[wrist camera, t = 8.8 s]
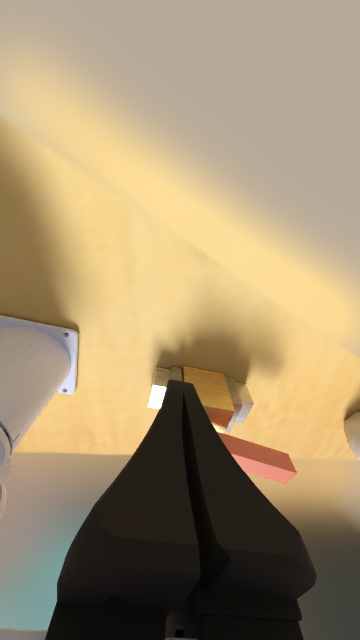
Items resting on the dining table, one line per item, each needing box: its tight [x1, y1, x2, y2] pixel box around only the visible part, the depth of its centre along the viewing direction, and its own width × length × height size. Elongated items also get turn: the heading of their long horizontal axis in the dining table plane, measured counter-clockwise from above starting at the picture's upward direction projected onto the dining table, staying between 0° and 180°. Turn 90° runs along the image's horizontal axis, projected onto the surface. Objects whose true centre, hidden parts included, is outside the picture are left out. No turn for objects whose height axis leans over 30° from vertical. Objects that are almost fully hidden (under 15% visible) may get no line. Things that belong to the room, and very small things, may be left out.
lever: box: [217, 432, 297, 484], centre depth 17 cm, size 9×2×2 cm, turn 66°
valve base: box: [148, 366, 254, 434], centre depth 20 cm, size 10×4×6 cm, turn 76°
